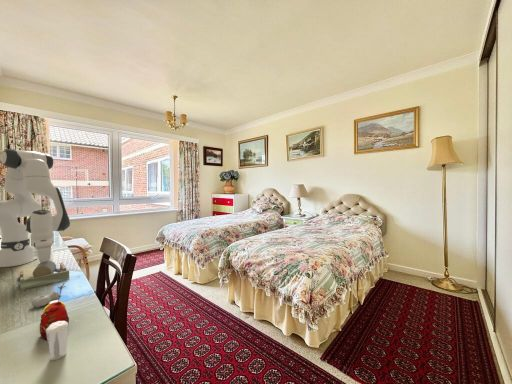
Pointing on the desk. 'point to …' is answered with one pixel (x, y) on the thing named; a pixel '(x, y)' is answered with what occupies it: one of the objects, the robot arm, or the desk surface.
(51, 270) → the ceramic mug
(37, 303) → the smooth white sculpture
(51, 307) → the red clay folk toy
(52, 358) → the white tooth model
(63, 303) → the watch
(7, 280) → the desk surface
